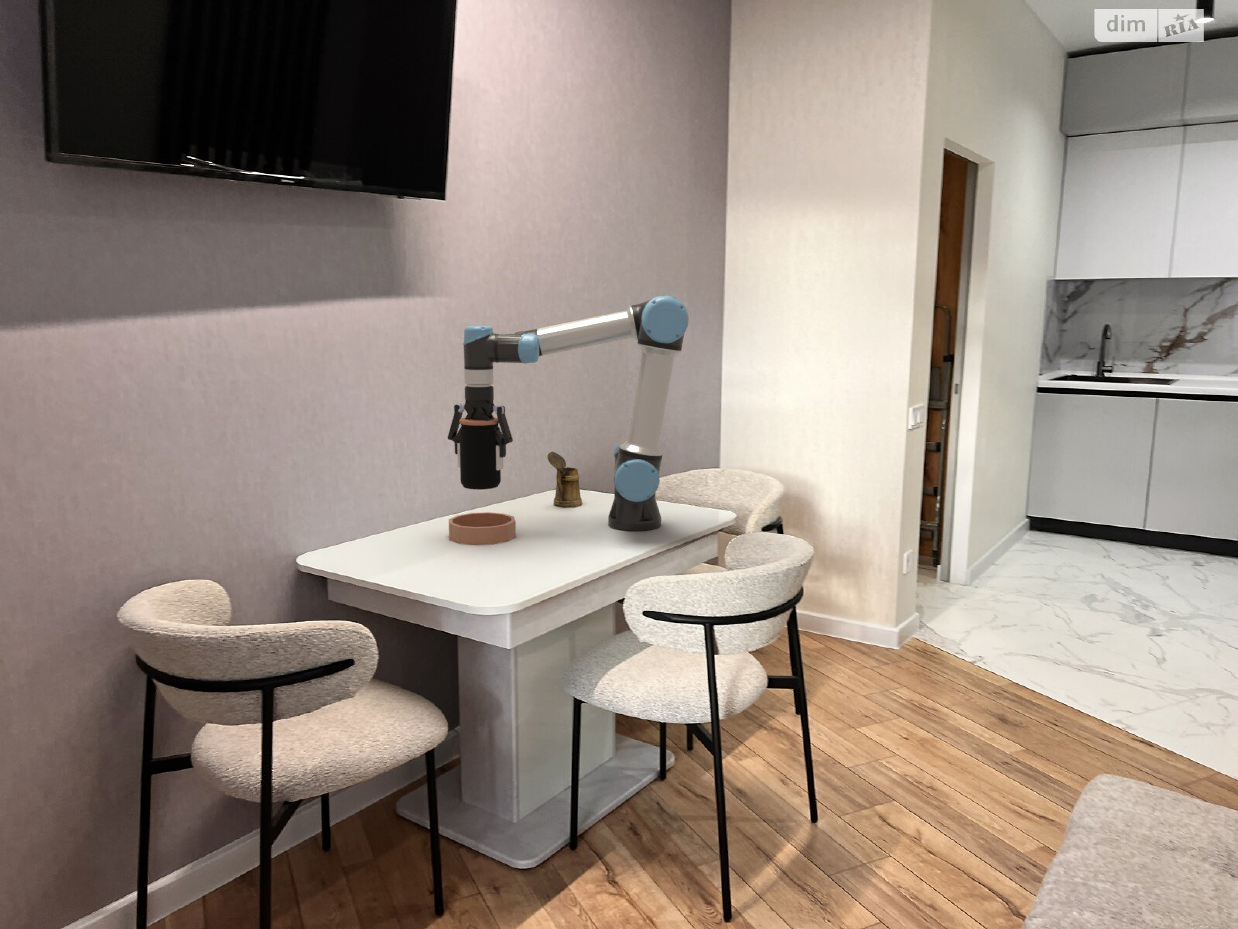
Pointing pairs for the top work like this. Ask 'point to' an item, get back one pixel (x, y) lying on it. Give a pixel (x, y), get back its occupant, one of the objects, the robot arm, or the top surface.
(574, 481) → the wooden mug
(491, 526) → the terracotta bowl
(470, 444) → the coffee jar
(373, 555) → the top surface
